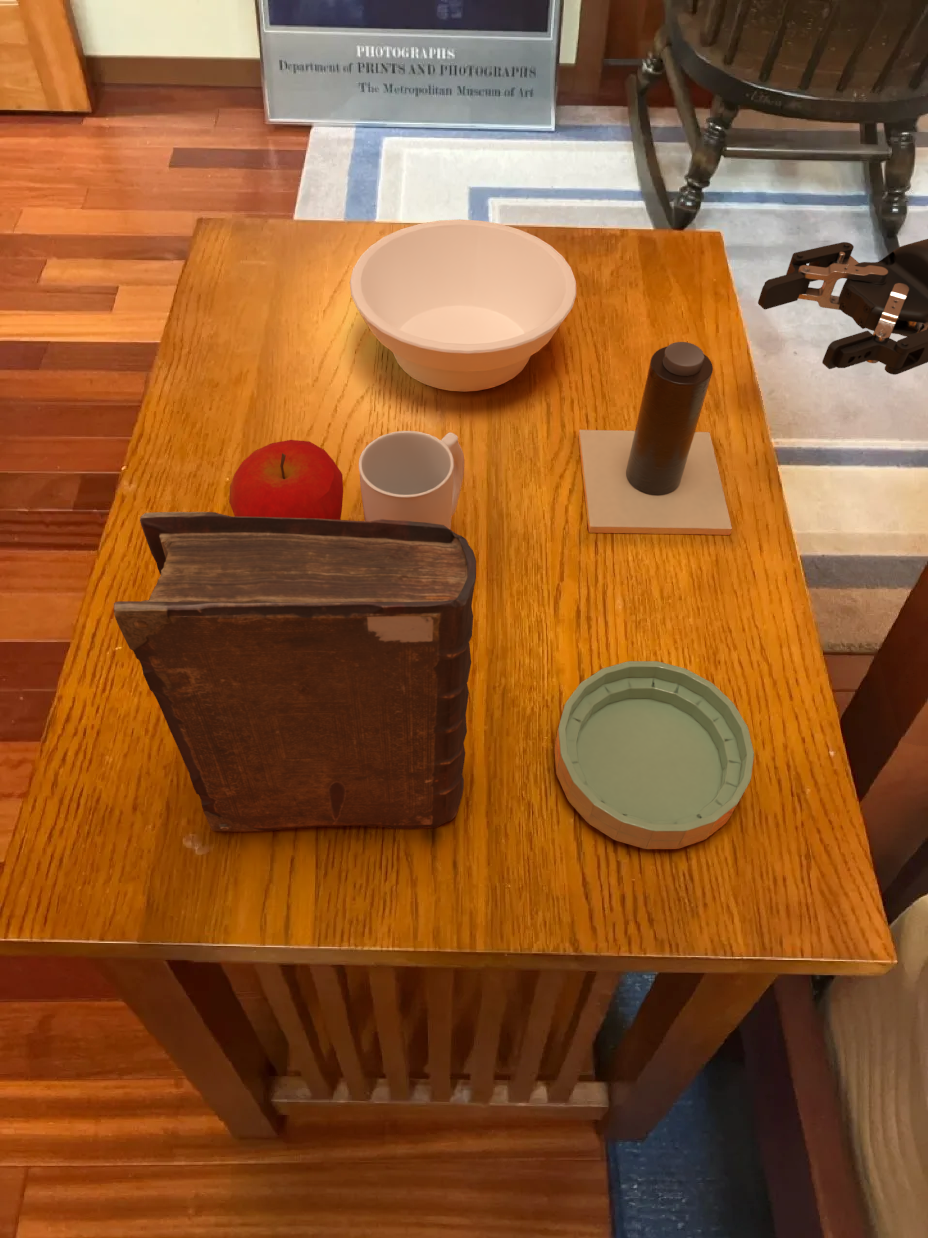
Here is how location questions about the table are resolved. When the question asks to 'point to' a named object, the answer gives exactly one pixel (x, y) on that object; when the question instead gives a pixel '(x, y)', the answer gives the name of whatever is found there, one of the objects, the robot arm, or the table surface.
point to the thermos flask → (668, 417)
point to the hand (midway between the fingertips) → (794, 325)
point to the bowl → (462, 300)
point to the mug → (411, 477)
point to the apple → (288, 483)
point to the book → (310, 666)
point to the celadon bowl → (652, 754)
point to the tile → (635, 512)
